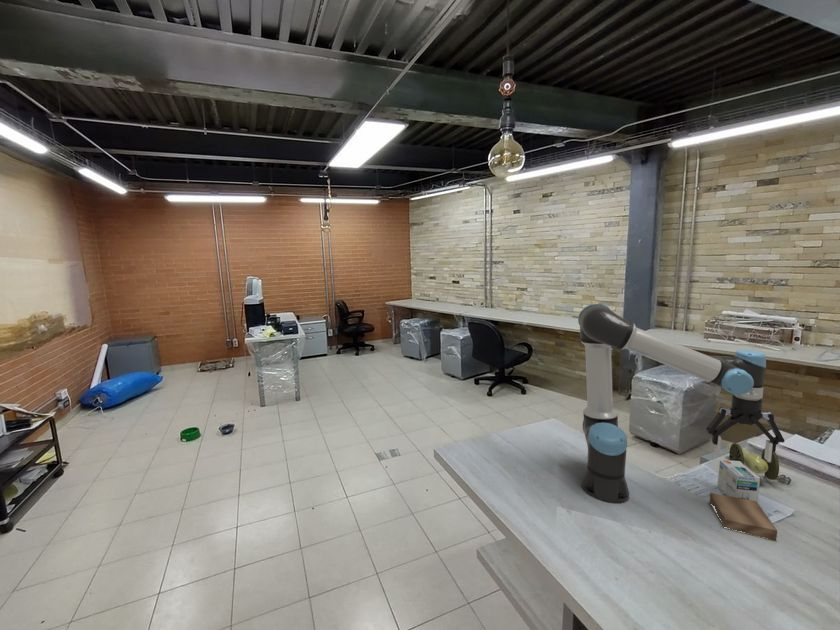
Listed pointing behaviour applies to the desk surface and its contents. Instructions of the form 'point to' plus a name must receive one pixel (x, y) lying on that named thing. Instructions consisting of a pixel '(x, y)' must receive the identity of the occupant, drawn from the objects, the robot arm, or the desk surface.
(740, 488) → the light bulb box
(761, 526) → the walnut block
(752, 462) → the cannon
